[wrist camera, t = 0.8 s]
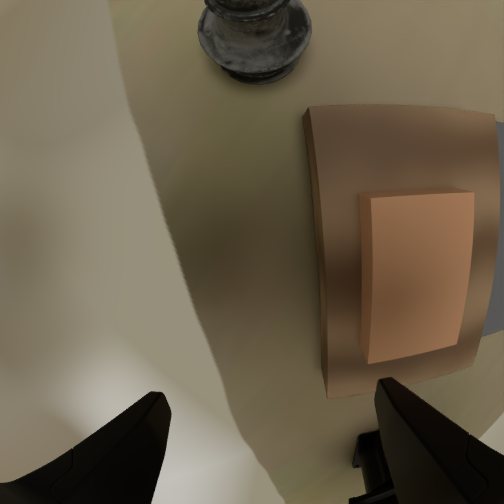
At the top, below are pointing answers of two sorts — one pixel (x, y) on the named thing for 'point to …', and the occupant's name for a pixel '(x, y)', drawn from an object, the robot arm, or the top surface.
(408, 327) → the tile
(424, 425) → the robot arm
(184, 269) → the top surface
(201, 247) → the top surface
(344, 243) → the board
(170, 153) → the top surface
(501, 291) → the mat
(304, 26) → the dark grey chess piece
